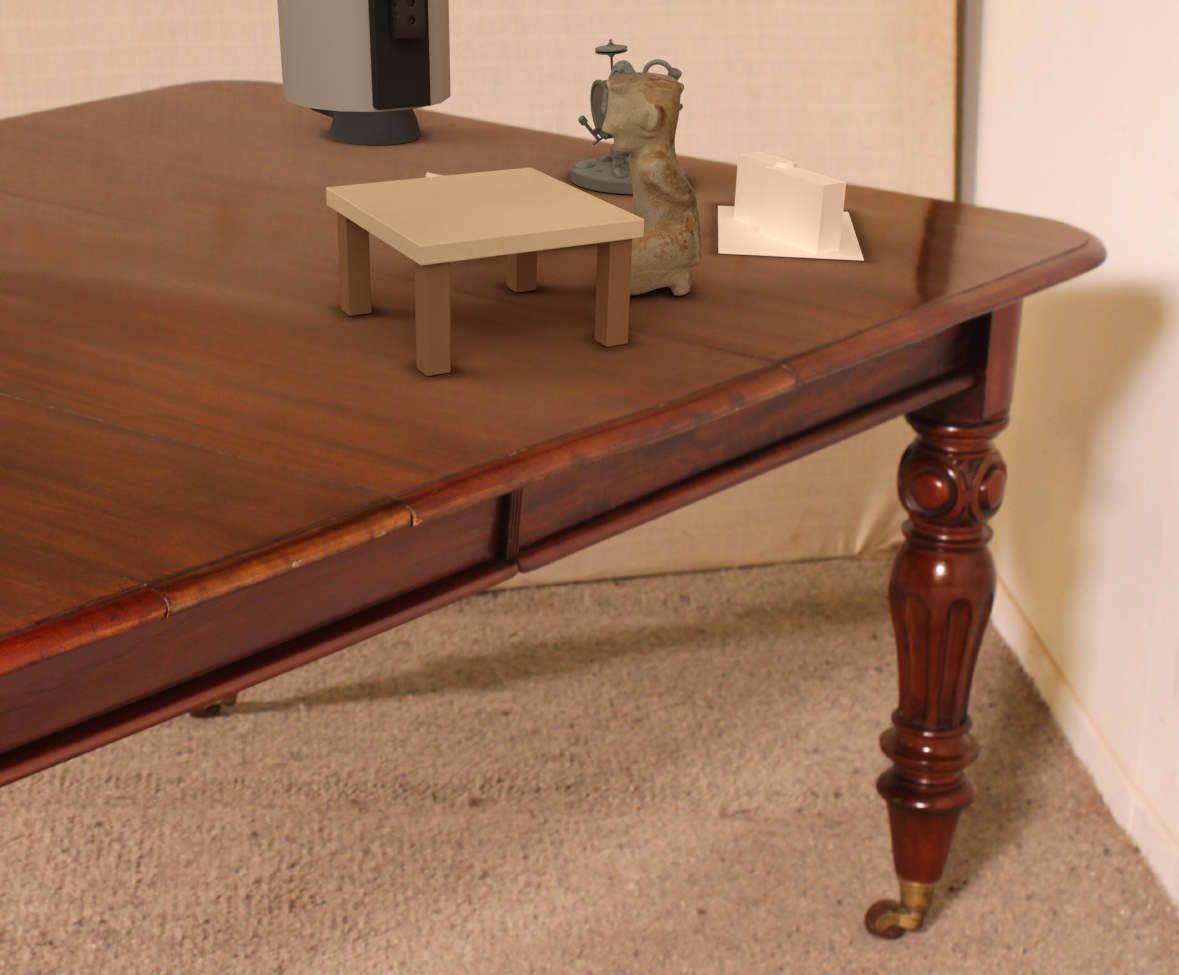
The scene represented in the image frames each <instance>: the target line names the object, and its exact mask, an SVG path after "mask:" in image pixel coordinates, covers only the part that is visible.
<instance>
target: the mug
mask: <svg viewBox="0 0 1179 975" xmlns="http://www.w3.org/2000/svg"><path fill="white" fill-rule="evenodd" d="M308 109H309V110H311V111H313V112H316V113H320V114H322V115H324V116H326V117H329V118H331V119H332V120H331V125H330V129H329V138H331V139H333V141H337V142H341V143H345V144H352V145H359V146H360V145H361V146H363V145H364V146H389V145H400V144H405V143H406V144H407V143H411V142H415V141H416V140H419V139H420V138H421V137H422V134H421V130H420V125H419V121H418V118H417V114H416V112H415V111H414V109H408V110H395V111H383V112H350V111H332V110H323V109H314V108H308Z"/></svg>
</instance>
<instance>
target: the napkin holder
mask: <svg viewBox="0 0 1179 975" xmlns="http://www.w3.org/2000/svg"><path fill="white" fill-rule="evenodd" d="M736 165H737V167H736V177H735V178H736V179H735V193H734V194H735V195H734V205H717V229H718V230H717V248H718V249H717V250H718V252H717V253H718V254H721V255H723V254H724V255H742V256H743V255H744V256H761V257H762V256H763V257H779V258H780V257H783V258H801V259H802V258H803V259H804V258H805V259H822V260H841V261H842V260H843V261H862V262H863V261H865V258H864V255H863V253H862V249H861V247H860V243H859V240H858V237H857V235H856V231H855V228H854V224H853V222H852V219H851V216H850V213H849V211H844V209H845V201H846V200H845V199H846V189H847V181H844V180H841V179H837V178H835V177H831V176H829V175H828V176H827V175H825V174H822V173H818V172H815V171H811V170H808V169H804V168H801V167H798V162H797V161H794V160H790V159H787V158H784V157H781V156H778V155H773V154H771V153H767V152H764V151H761V150H760V151H759V150H758V151H752V152H745V153H744V152H743V153H738V154H737V164H736Z"/></svg>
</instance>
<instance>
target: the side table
mask: <svg viewBox="0 0 1179 975" xmlns="http://www.w3.org/2000/svg"><path fill="white" fill-rule="evenodd" d="M325 194H326V195H325V200H326V206H327V207H328V208H331V209H333V210H334V211H335V212H336V221H337V248H338V269H339V291H340V292H339V293H340V294H339V295H340V296H339V297H340V310H341V311H342V312H344V313H345V314H346V315H348V316H349V317H353V316H360V315H366V314H372V284H371V256H370V254H371V253H370V252H371V251H370V250H371V249H370V234H371V235H372V236H374V237H376V238H377V239H379V240H380V241H382V243H383V242H384V243H385V244H387V245H388V246H389V247H391V248H393V249H394V250H396V251H398V252H399V253H400V254H402V255H404V256H405V257H407V258H408V259H410V260H411V261H413V262H414V304H415V346H416V347H415V353H416V354H415V356H416V357H415V358H416V359H415V362H416V369H417V370H418V371H419V372H420V373H421V374H423V375H425V377H431V376H433V377H434V376H438V375H443V374H450V373H451V372H452V355H451V353H452V352H451V351H452V350H451V344H452V343H451V263H453V262H461V261H469V260H476V259H484V258H485V259H486V258H491V257H492V258H494V257H500V256H501V257H502V256H506V287H507V288H508V289H510V290H512V291H514V292H515V293H523V292H529V291H530V292H531V291H536V290H537V277H538V276H537V275H538V274H537V272H538V268H537V267H538V252H540V251H548V250H549V251H550V250H555V249H564V248H572V247H580V246H586V245H595V244H596V245H597V246H596V247H597V249H596V264H597V268H596V273H595V274H596V276H595V277H596V278H595V303H594V304H595V306H594V331H593V332H594V333H593V340H594V341H596V342H597V343H599V344H601V345H602V346H604V347H606V348H609V347H615V346H622V345H628V343H629V323H630V322H629V321H630V305H631V304H630V303H631V302H630V299H631V295H630V281H631V258H632V239H635V238H642V237H643V234H644V219H643V218H641V217H638V216H636V215H635V213H632V212H630V211H627V210H625V209H623V208H621V207H618V206H617V205H614V204H612V203H610V202H607V201H605V200H603V199H601V198H599V197H597V196H594V195H592V194H591V193H588V192H585V191H583V190H581V189H579V188H577V187H574V186H573V185H570V184H568V183H566V182H564V181H562V180H559V179H557V178H555V177H552V176H551V175H548V174H546V173H544V172H542V171H540V170H537V169H536V168H533V167H521V168H512V169H511V168H510V169H501V170H500V169H499V170H489V171H479V172H467V173H459V174H458V173H457V174H447V175H443V176H437V177H426V178H425V177H418V178H409V179H408V178H406V179H399V180H398V179H397V180H386V181H377V182H366V183H356V184H345V185H335V186H327V187H325Z"/></svg>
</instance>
